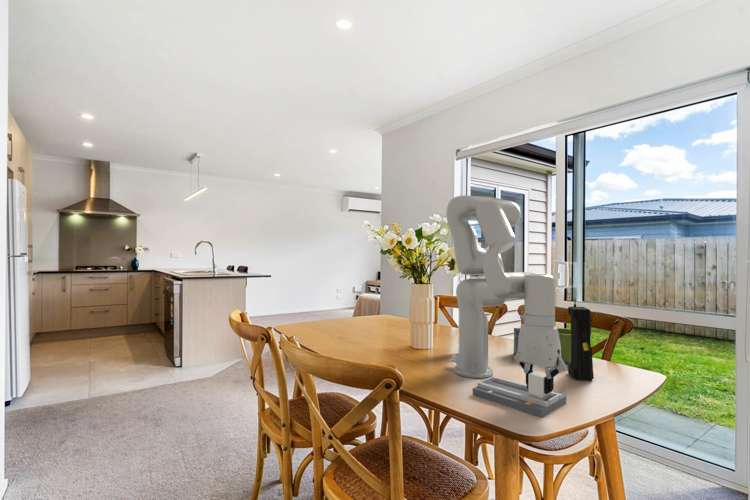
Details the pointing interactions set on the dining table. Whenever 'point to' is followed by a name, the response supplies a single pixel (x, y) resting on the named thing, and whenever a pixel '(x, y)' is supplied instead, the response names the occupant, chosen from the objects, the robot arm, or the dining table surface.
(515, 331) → the small box
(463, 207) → the robot arm
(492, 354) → the dining table surface
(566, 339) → the plant pot
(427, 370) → the dining table surface
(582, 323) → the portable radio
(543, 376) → the fader tab
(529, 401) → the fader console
